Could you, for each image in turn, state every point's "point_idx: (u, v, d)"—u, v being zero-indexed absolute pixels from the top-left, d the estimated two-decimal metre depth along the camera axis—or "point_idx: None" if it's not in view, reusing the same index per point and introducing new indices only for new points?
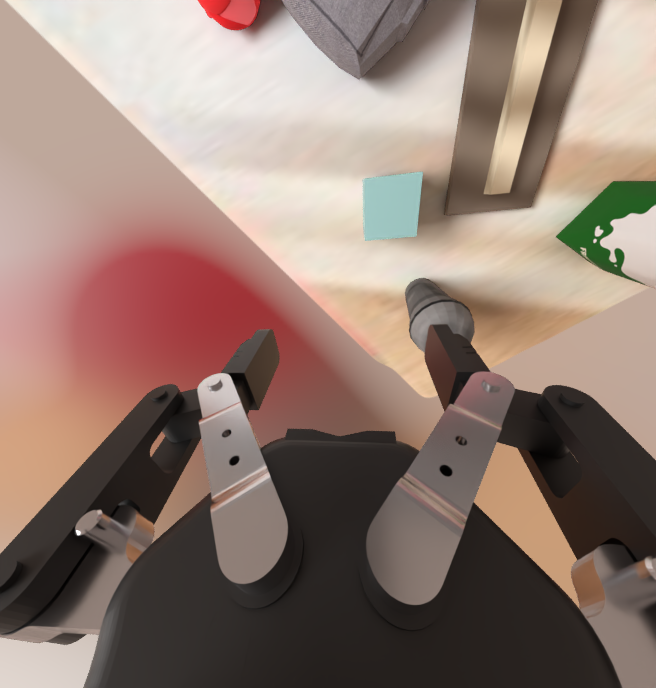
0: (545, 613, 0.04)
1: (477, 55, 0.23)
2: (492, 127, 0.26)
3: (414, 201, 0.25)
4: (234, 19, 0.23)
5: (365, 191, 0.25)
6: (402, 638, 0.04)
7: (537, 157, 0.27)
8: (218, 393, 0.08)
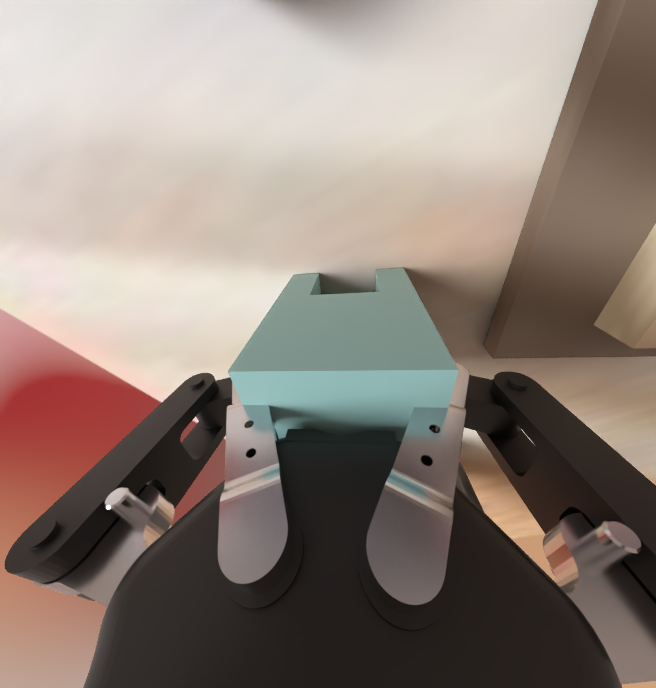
0: (538, 607, 0.04)
1: None
2: None
3: None
4: None
5: (243, 400, 0.07)
6: (402, 638, 0.04)
7: None
8: None
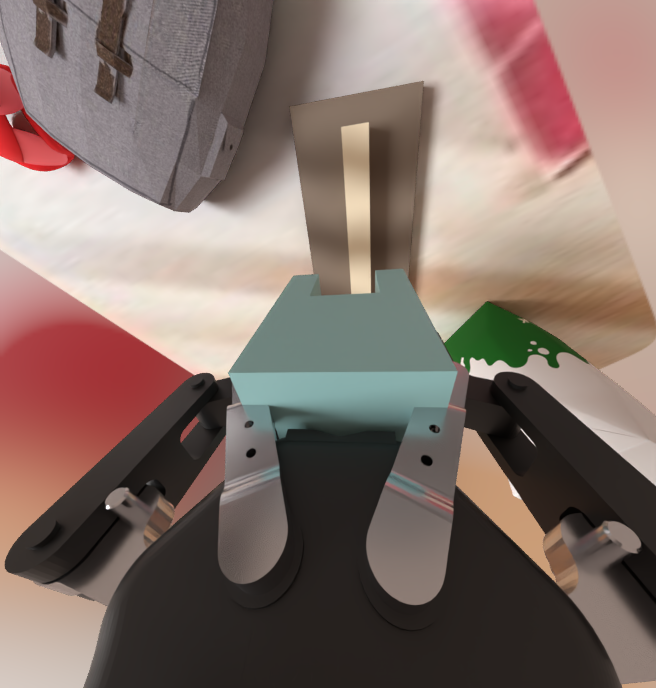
0: (538, 606, 0.04)
1: (308, 195, 0.22)
2: (343, 256, 0.24)
3: None
4: (42, 164, 0.21)
5: (244, 402, 0.07)
6: (402, 638, 0.04)
7: None
8: None
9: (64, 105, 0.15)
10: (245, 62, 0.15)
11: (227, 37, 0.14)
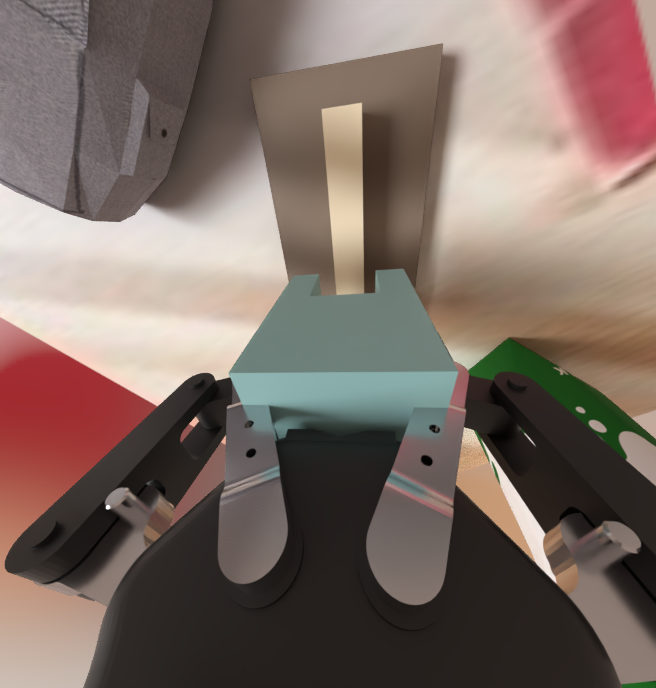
0: (538, 606, 0.04)
1: (281, 205, 0.16)
2: (330, 283, 0.19)
3: None
4: None
5: (244, 402, 0.07)
6: (402, 638, 0.04)
7: None
8: None
9: None
10: None
11: None
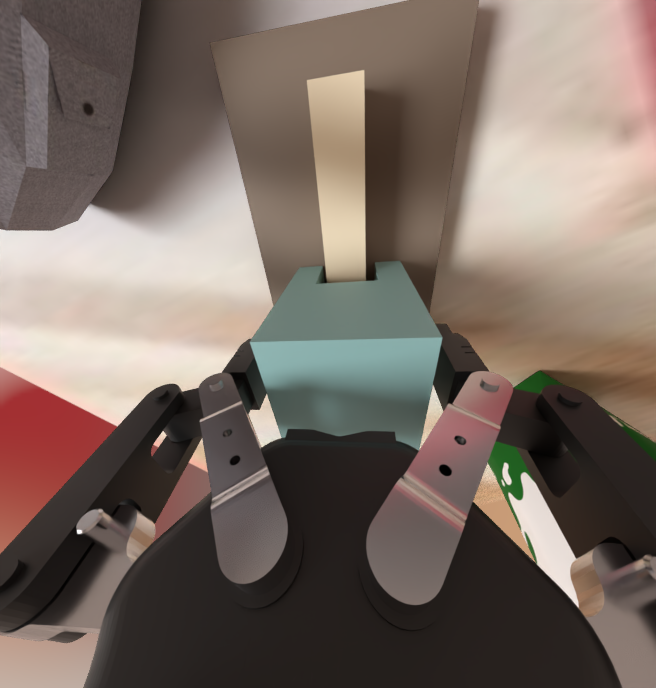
0: (545, 613, 0.04)
1: (260, 213, 0.13)
2: None
3: (414, 399, 0.08)
4: None
5: (261, 369, 0.08)
6: (402, 638, 0.04)
7: None
8: (219, 393, 0.08)
9: None
10: None
11: None
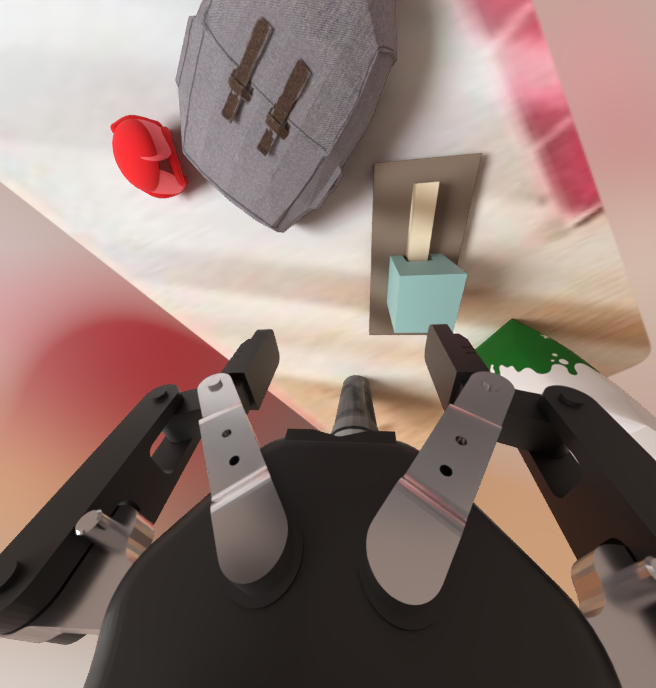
0: (545, 613, 0.04)
1: (377, 228, 0.27)
2: None
3: (455, 300, 0.22)
4: (163, 193, 0.26)
5: (399, 287, 0.22)
6: (402, 638, 0.04)
7: None
8: (218, 393, 0.08)
9: (223, 152, 0.20)
10: (362, 130, 0.20)
11: (358, 116, 0.19)
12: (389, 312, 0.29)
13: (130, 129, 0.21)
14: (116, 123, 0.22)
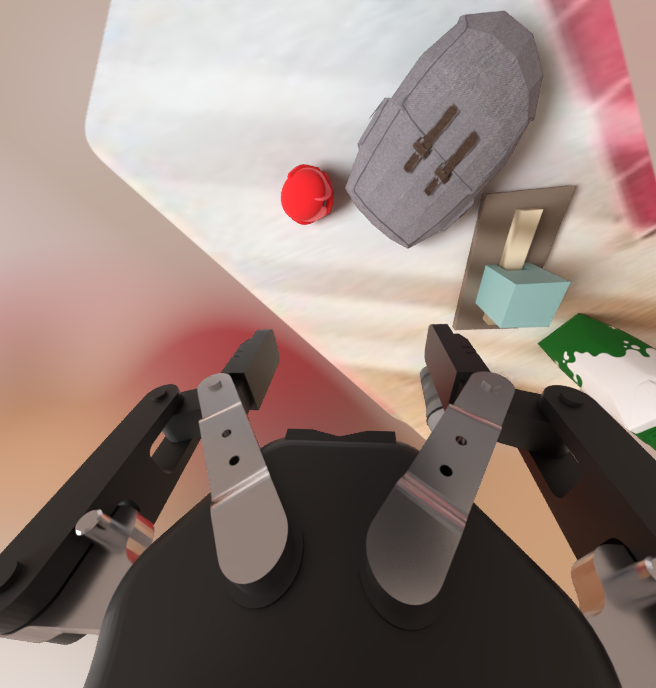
0: (545, 613, 0.04)
1: (478, 244, 0.33)
2: None
3: (556, 302, 0.29)
4: (309, 221, 0.33)
5: (513, 293, 0.29)
6: (402, 638, 0.04)
7: None
8: (218, 393, 0.08)
9: (390, 193, 0.26)
10: None
11: (499, 164, 0.25)
12: (484, 311, 0.35)
13: (310, 178, 0.27)
14: (293, 172, 0.28)
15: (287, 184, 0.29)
